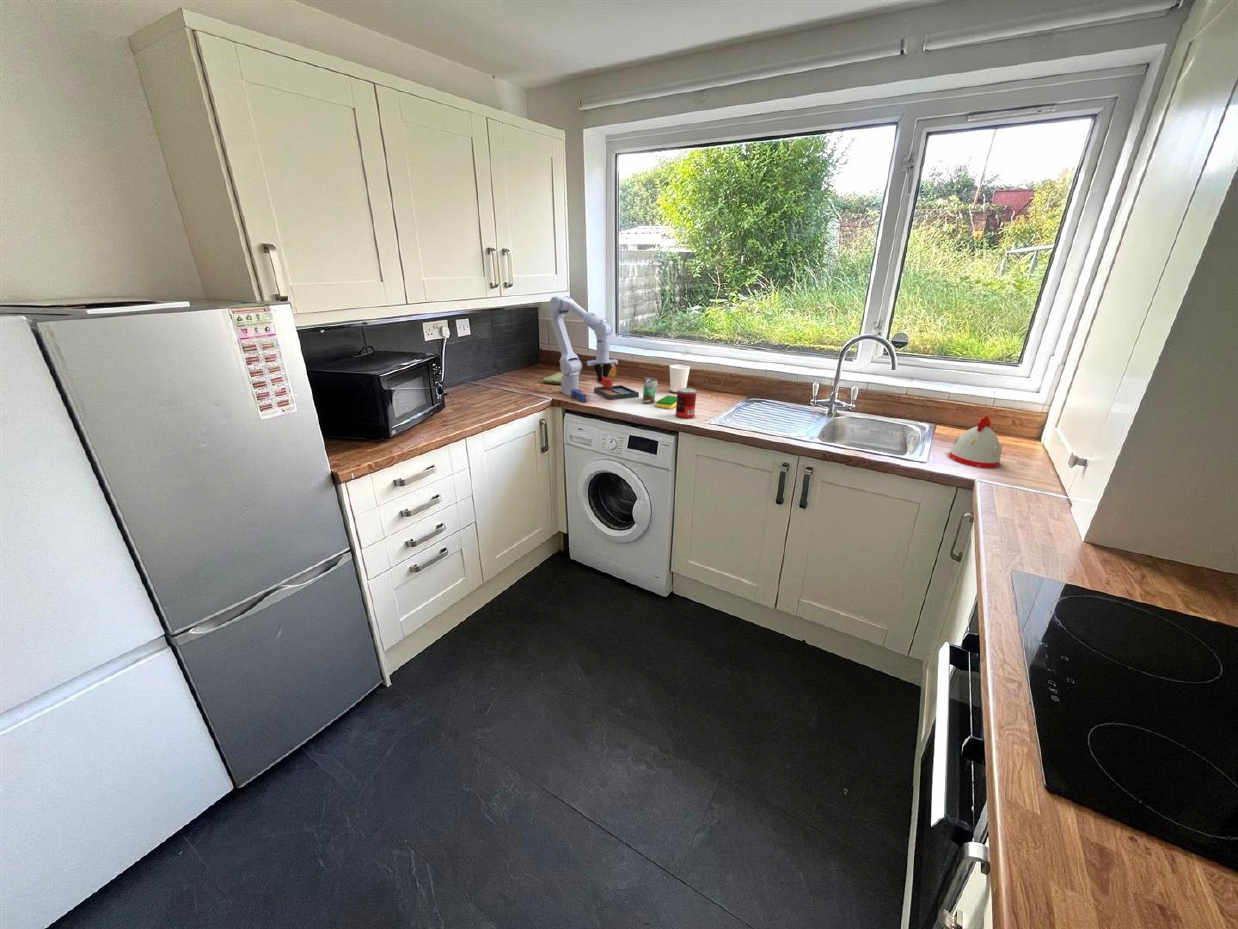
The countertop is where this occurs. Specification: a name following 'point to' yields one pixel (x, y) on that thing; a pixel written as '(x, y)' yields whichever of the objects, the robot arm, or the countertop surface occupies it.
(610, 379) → the red rectangular block
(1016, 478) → the countertop surface
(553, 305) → the robot arm
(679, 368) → the cup
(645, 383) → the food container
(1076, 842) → the countertop surface
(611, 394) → the tray
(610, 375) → the onion
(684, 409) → the canned food
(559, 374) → the washcloth
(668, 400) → the dish sponge
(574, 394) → the blue rectangular block
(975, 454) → the kitchen timer
